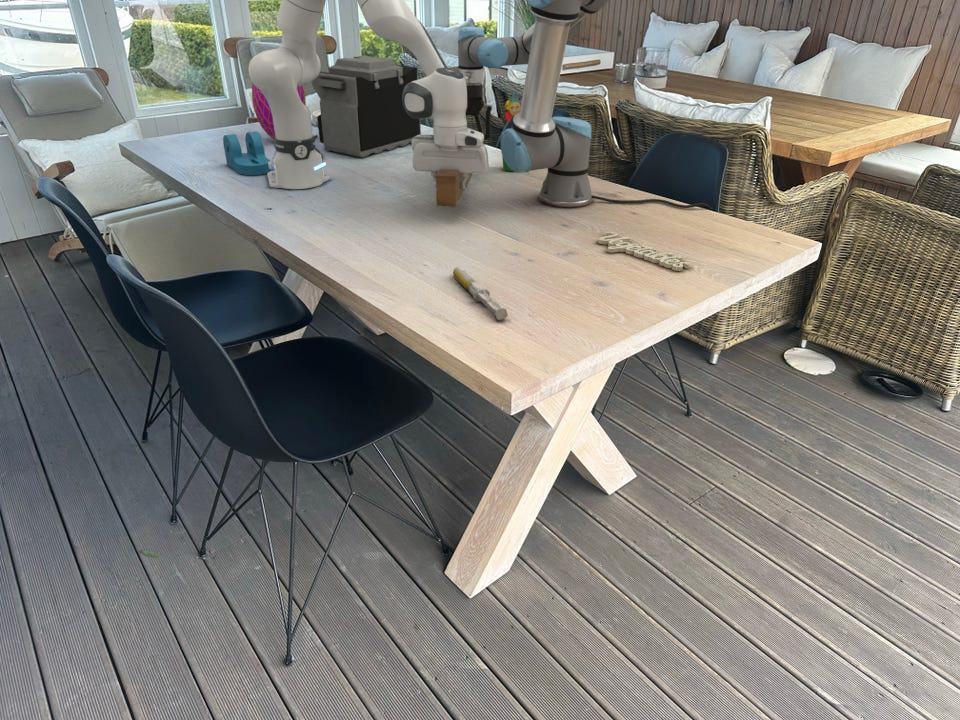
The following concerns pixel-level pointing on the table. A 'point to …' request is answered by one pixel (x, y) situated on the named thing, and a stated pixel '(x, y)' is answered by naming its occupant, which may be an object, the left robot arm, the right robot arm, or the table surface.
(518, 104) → the potted flower
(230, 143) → the camera mount
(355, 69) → the grey black box
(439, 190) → the bar
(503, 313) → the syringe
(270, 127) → the decorative egg
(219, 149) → the table surface
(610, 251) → the decorative sign
